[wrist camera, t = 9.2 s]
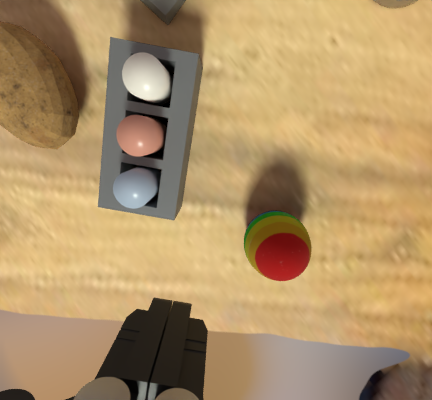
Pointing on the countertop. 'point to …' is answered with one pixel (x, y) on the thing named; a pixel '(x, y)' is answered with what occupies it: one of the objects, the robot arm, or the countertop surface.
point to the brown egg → (141, 135)
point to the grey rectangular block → (131, 105)
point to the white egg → (147, 78)
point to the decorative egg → (277, 245)
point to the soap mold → (164, 8)
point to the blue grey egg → (137, 186)
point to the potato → (34, 91)
